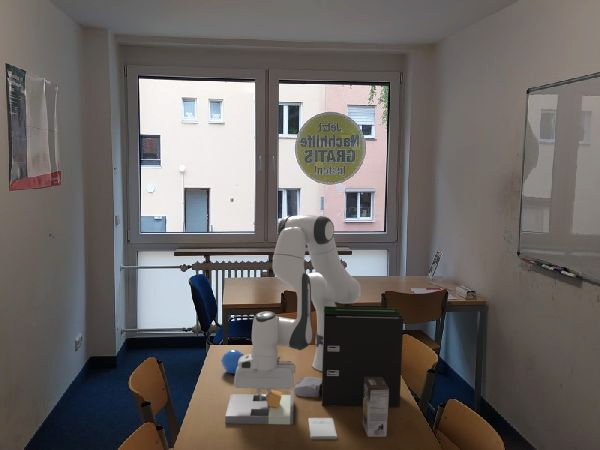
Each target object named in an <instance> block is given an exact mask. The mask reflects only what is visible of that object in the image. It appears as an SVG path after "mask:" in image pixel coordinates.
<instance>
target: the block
mask: <svg viewBox="0 0 600 450" xmlns="http://www.w3.org/2000/svg"><path fill="white" fill-rule="evenodd" d="M282 395H283V392H281V391H279V390H276V389H271V392H270V394H269V397H268V401H267V405H268V406H272V407H275V408H278V407H279V404H280V400H281V396H282Z"/></svg>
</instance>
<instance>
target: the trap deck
mask: <svg viewBox="0 0 600 450" xmlns="http://www.w3.org/2000/svg"><path fill="white" fill-rule="evenodd" d="M268 397H269V395H268ZM224 418H225V419H224V420H225V422H224V423H225V424H233V425H234V424H243V425H248V424H251V425H294V389H290V394H282V396H281V400H280V404H279V407H278V408H275V407H272V406H268V405H267V401H260V396H259V395H258V394H253V393H251V394H250V393H249V394H245V393H241V394H240V393H239V394H237V393H232V394H230V398H229V401H228V404H227V409H226V412H225V417H224Z"/></svg>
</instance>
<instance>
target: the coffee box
mask: <svg viewBox="0 0 600 450" xmlns="http://www.w3.org/2000/svg"><path fill="white" fill-rule="evenodd" d="M388 399H389V387H388V386H387V384H386V382H385V381H384V379H383V377H364V389H363V407H362V426H363V429H364V431H365V434H366V435H367V437H368V438H369V437H370V438H373V437H374V438H377V437H378V438H379V437H380V438H381V437H387V435H388V434H387V433H388V418H389V417H388V416H389V415H388V413H389V407H388Z"/></svg>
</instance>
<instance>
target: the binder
mask: <svg viewBox="0 0 600 450" xmlns="http://www.w3.org/2000/svg"><path fill="white" fill-rule="evenodd" d="M403 334H404V318H403V315H400V310H399V308H389V307H388V308H386V307H385V308H383V307H382V308H380V307H359V306H358V307H357V306H354V307H353V306H336V307H332V306H324V323H323V363H322V371H321V379H322V389H321V406H323V407H353V408H354V407H357V408H358V407H360V408H363V389H364V377H383V379H384V381H385V382H386V384H387V386H388V387H389V399H388V408H397V407H400V404H401V383H402V382H401V380H402V360H403V359H402V358H403V338H404V337H403V336H404V335H403Z"/></svg>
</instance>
